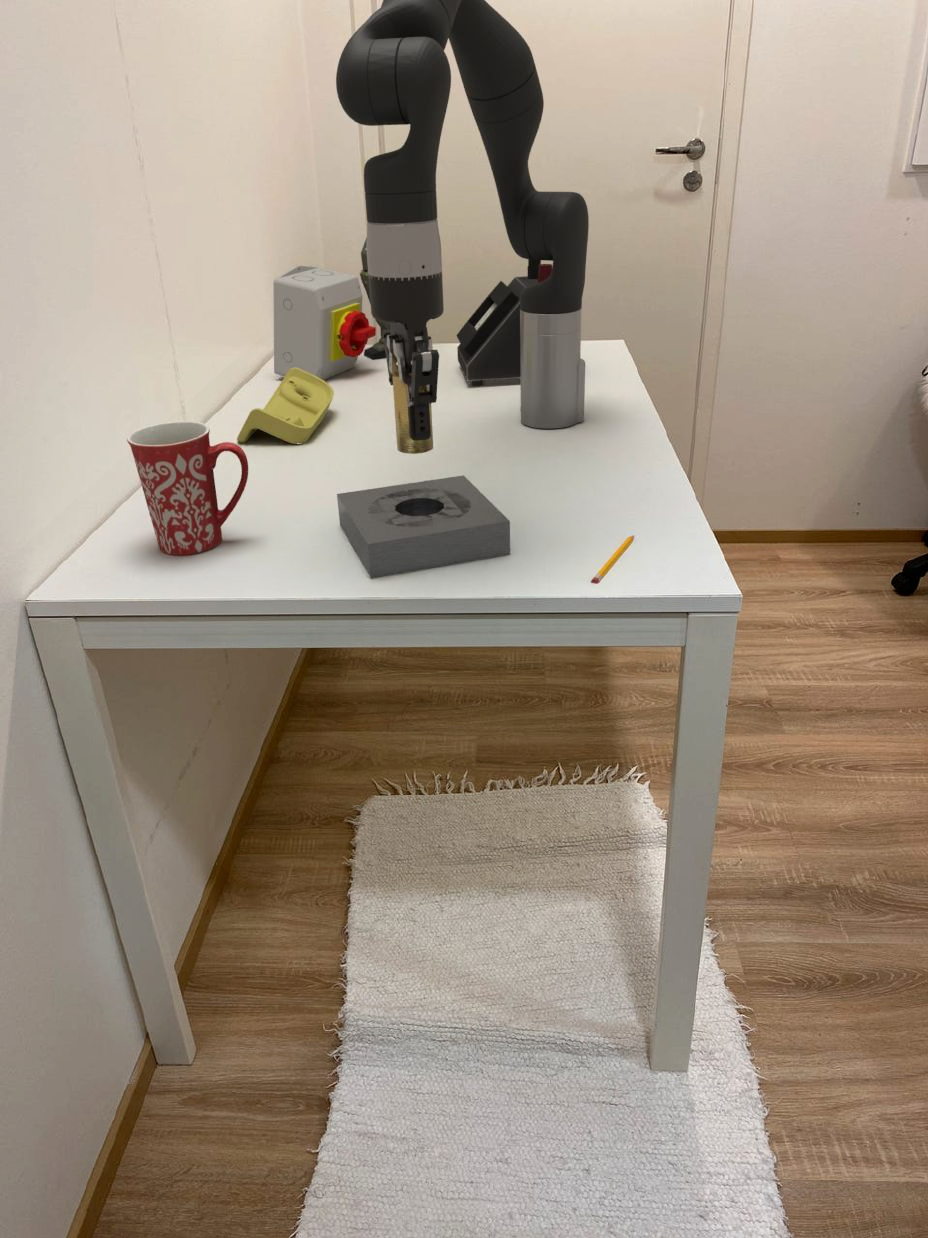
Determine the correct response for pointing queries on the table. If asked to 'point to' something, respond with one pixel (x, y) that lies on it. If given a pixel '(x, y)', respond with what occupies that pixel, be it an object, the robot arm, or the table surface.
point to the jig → (422, 525)
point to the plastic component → (291, 408)
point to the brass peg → (407, 421)
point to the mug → (183, 484)
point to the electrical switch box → (318, 321)
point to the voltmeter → (497, 330)
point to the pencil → (612, 560)
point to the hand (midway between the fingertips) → (414, 432)
